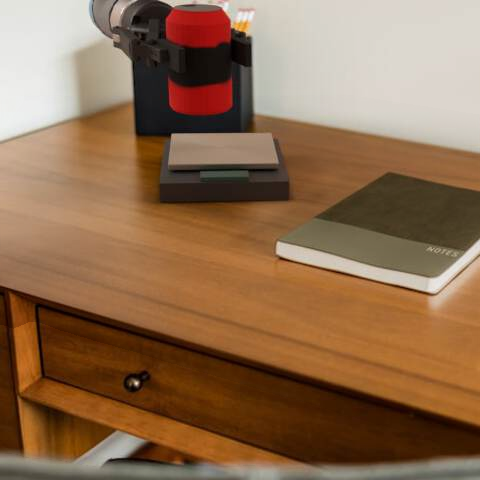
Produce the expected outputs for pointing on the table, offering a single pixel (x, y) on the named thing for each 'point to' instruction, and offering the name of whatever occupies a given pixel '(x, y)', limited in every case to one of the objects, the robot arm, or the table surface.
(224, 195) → the scale
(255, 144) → the scale platter
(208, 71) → the soda can
